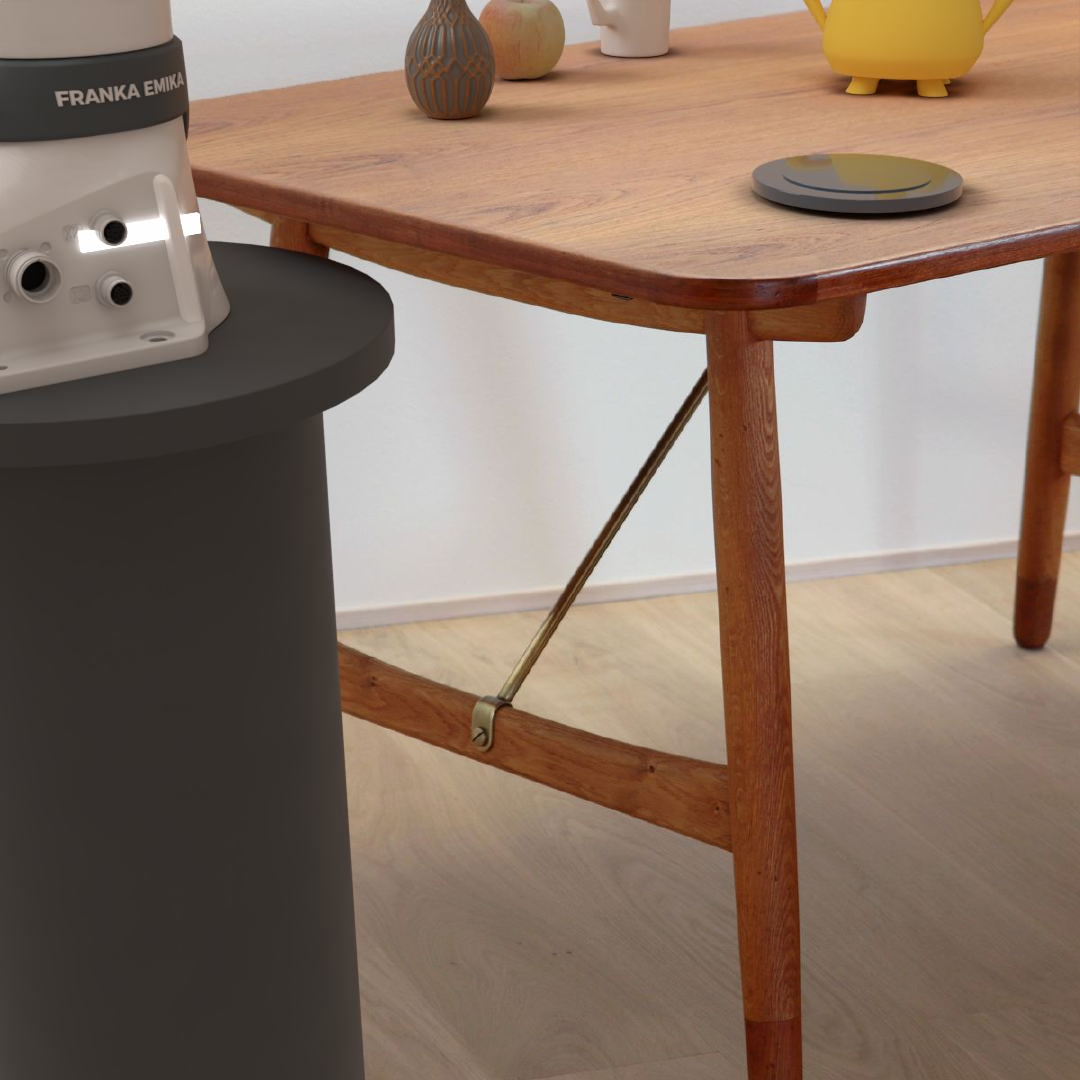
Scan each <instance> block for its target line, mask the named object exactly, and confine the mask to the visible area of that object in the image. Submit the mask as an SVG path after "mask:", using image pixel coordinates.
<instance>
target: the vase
mask: <svg viewBox="0 0 1080 1080" xmlns="http://www.w3.org/2000/svg"><path fill="white" fill-rule="evenodd" d="M478 20H479V19H478V18H477V17H476V16H475V14H474V13H473V11H472V10H471V8H470V7H469V5H468V3H467V1H466V0H430V2H429V3H428V6H427V9H426V11H425V12H424V13H423V15H422V17H421V18H420V19H419V20H418V23H416V25H415V27H414V29H413V30H412V32H411V34H410V36H409V38H408V41H407V45H406V49H405V54H404V76H405V83H406V87H407V91H408V93H409V95H410V97H411V100H412V102H413V103H414V104H415V106H416V107H417V108H418V109H419V110H420V112H422V114H424V115H425V116H426V117H429V118H433V119H439V120H440V119H441V120H443V119H444V120H456V119H457V120H458V119H460V120H461V119H467V118H471V117H475V116H477V115H478V114H479V113H480V112H481V111H482V110H483V108H485V106H486V104H487V102H489V100H490V97H491V95H492V92H493V91H494V87H495V86H494V85H495V80H496V75H495V56H494V51H493V48H492V44H491V41H490V39H489V36H488V34H487V33H486V31H485V29H484V28H483V27H482V25H481V24H480V22H479V21H478Z"/></svg>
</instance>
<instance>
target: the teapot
mask: <svg viewBox="0 0 1080 1080" xmlns="http://www.w3.org/2000/svg"><path fill="white" fill-rule="evenodd" d="M802 1H803V2H804V5H805V6H806V8H807V10H808V11H809V12H810V14H811V16H812V17H813V19H814V20H815V22H816V23H817V25H818V26H819V27H820V30H821V32H822V38H821V47H822V53H823V55H824V57H825V59H826V61H827V63H828V64H829V66H830V68H831V69H832V71H833V72H834V73H836V74H839V75H844V76H848V77H849V76H851V77H852V78H851V82H849V85H848V87H847V88H846V90H845V93H847V94H853V95H871V94H875V93H876V91H877V89H878V85H879V82H880V81H881V80H882V79H883V80H915V81H916V89H917V94H918V95H919V96H921V97H929V98H944V97H947V96H948V95H949V94H948V91H947V89H946V86H945V85H949V84H951V80H950V79H958V78H961V77H964V76H966V75H968V72H970V70H971V69H972V68H973V66H974V65H975V64H976V62H977V61H978V60H979V58H980V57H981V55H982V52H983V50H984V46H985V45H984V42H985V36H986V34H987V33H988V32H989V31H990V30H991V29H992V28H993V26H995V24H996V23H997V22H998V21H999V20H1000V19H1001V17H1002V16H1003V15H1004V14H1005V13H1006V12H1007V10H1008V9H1009V8H1010V6H1011V5H1012V3H1014V1H1015V0H994V2H993V3H992V6H991V7H990V9H989V10H988V12H987V14H986V15H985V17H983V12H982V7H981V1H980V0H831V1H830V5H829V8H828V11H827V13H826V11H825V9H824V7H823V4H822V2H821V0H802Z"/></svg>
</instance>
